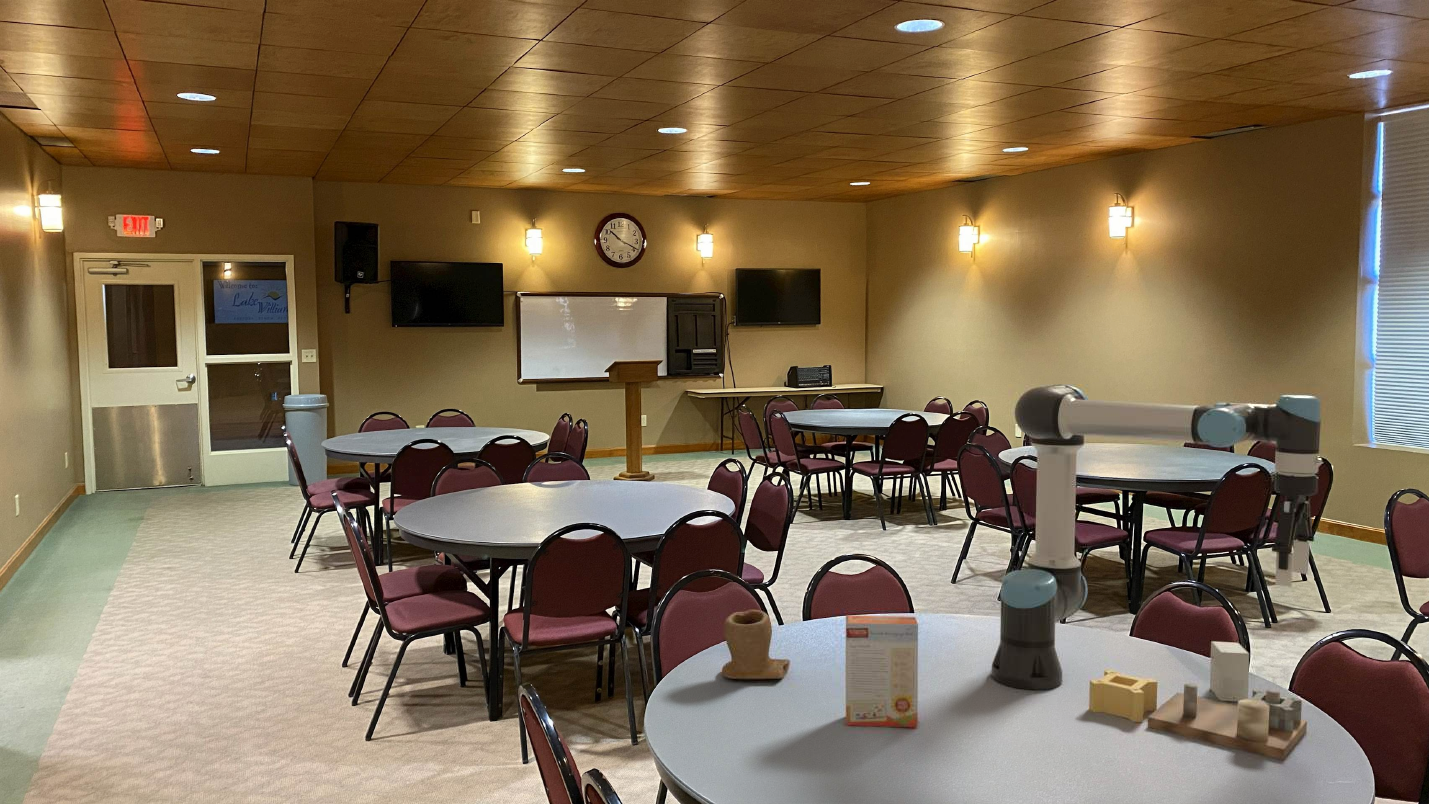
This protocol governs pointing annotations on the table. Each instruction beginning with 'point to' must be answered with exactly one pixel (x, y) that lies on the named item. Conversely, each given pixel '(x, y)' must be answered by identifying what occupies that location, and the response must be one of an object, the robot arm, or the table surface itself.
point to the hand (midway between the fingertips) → (1292, 579)
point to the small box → (1229, 671)
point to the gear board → (1235, 721)
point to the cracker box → (881, 671)
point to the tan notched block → (1123, 695)
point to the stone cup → (751, 647)
